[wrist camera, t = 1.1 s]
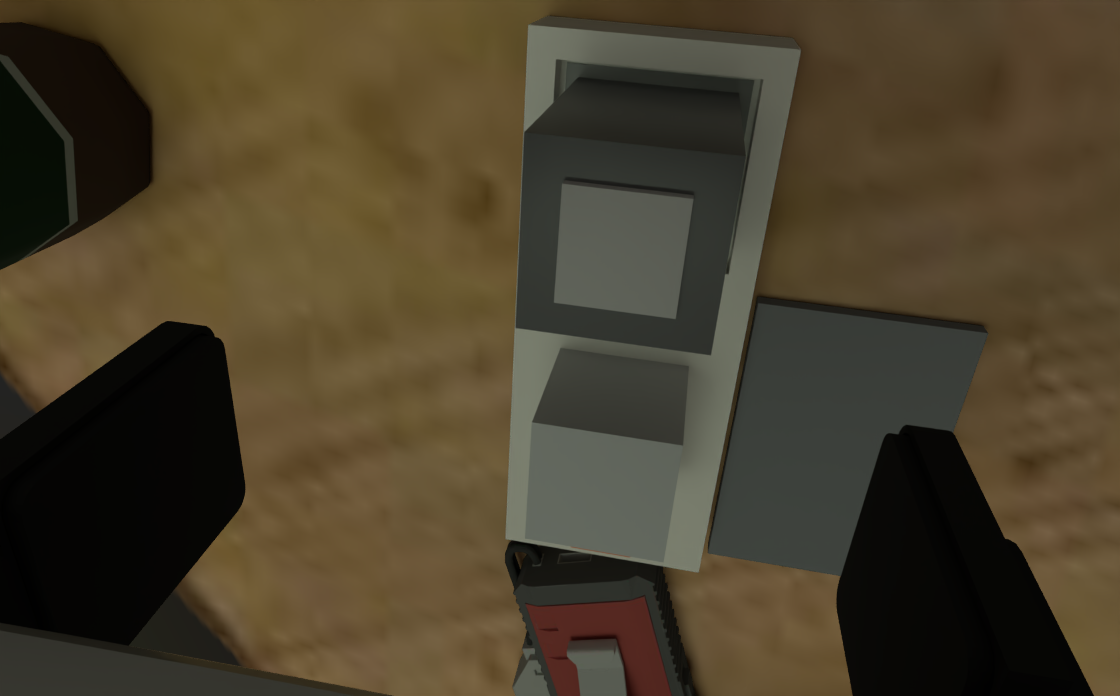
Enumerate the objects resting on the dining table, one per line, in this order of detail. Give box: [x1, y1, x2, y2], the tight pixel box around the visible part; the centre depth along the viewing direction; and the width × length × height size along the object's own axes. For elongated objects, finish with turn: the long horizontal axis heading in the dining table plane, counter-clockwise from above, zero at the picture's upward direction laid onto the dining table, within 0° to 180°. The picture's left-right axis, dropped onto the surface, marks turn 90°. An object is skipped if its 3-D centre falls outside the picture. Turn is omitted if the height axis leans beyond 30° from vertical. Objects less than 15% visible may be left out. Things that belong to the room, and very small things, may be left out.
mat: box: [708, 297, 988, 576], centre depth 32 cm, size 8×12×1 cm, turn 177°
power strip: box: [506, 16, 801, 573], centre depth 27 cm, size 8×20×8 cm, turn 177°
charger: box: [515, 77, 746, 355], centre depth 22 cm, size 5×5×8 cm
